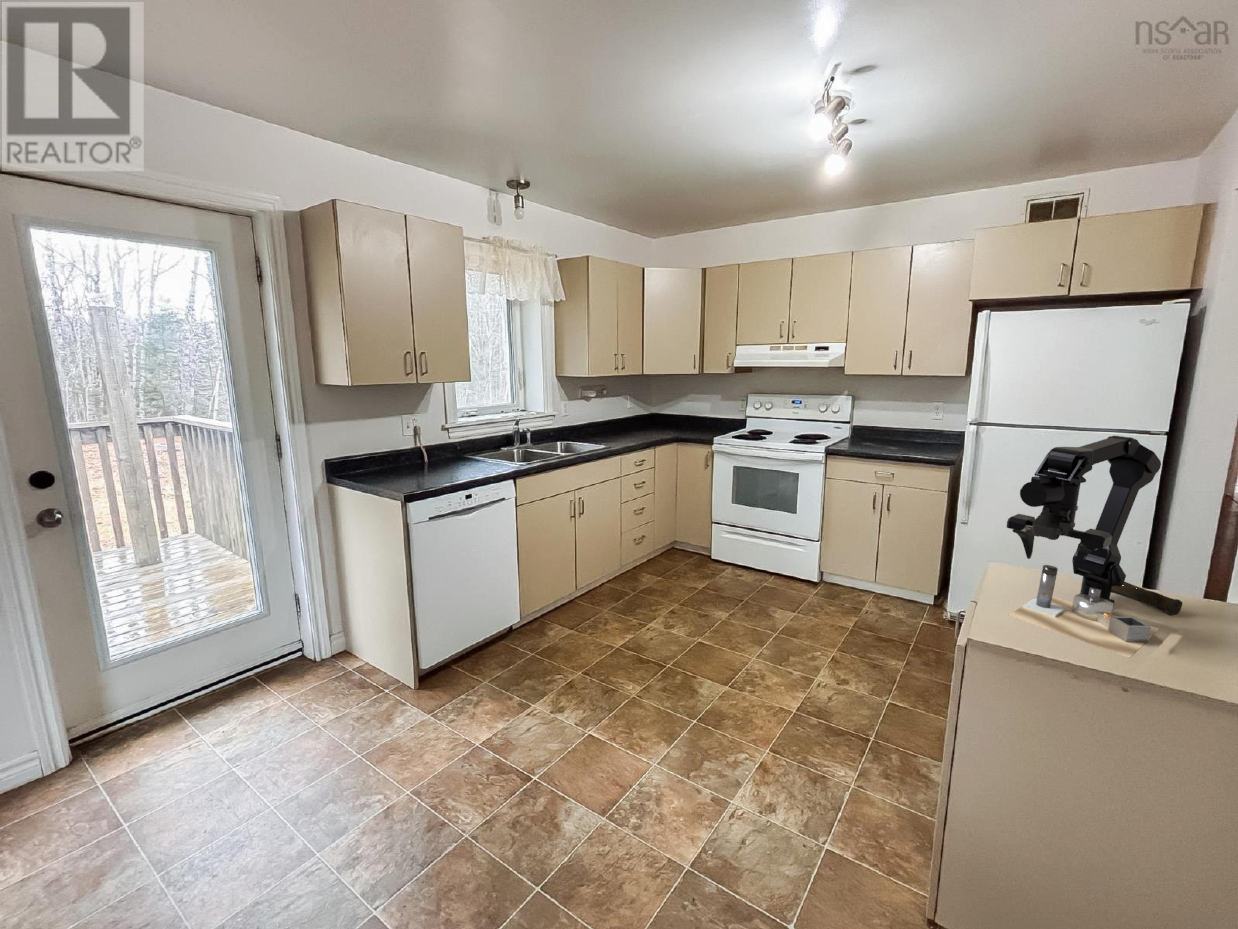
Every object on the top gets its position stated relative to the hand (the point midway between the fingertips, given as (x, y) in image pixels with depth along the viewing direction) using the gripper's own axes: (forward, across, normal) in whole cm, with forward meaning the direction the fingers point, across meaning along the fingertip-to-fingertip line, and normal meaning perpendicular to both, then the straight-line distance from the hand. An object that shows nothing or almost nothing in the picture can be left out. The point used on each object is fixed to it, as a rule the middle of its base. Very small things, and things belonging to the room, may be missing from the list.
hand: (1051, 564), depth 129 cm
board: (+13, +8, -1) cm, 15 cm away
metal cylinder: (+11, 0, 0) cm, 11 cm away
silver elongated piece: (+11, +11, +2) cm, 16 cm away
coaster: (+12, 0, 0) cm, 12 cm away
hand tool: (+13, +9, +27) cm, 32 cm away
